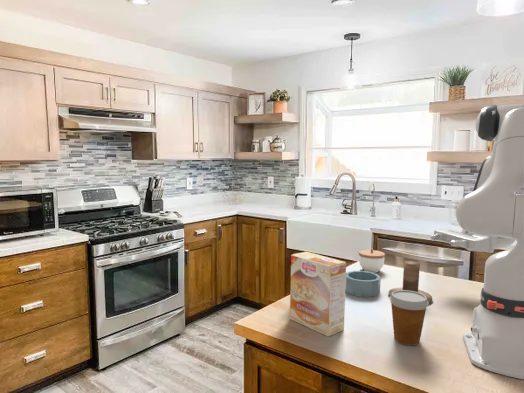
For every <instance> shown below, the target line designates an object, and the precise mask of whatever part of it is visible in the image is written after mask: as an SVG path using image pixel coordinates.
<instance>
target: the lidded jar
mask: <svg viewBox="0 0 524 393" xmlns="http://www.w3.org/2000/svg"><path fill="white" fill-rule="evenodd" d="M385 257H386V253H385V252H383V251H380V250H374V249H373V248H370V249H363V250H359V251H358V262H359V266H360V267H361V268H362V270H363V271H366V272H372V273H375V274H377V273H379V271H380V270H382V269H383V267H384V265H385Z"/></svg>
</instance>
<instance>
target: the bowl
mask: <svg viewBox="0 0 524 393" xmlns="http://www.w3.org/2000/svg"><path fill="white" fill-rule="evenodd" d="M381 278H382V277H381V276H380V275H379V274H377V273H372V272H366V271H364V270H352V271H346V284H345V293H347V294H349V295H351V296H356V297H361V298H364V297H365V298H366V297H367V298H372V297H376V296H379V295H380V294H381V281H382V280H381Z"/></svg>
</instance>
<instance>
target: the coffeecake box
mask: <svg viewBox="0 0 524 393" xmlns="http://www.w3.org/2000/svg"><path fill="white" fill-rule="evenodd" d="M346 273H347V262H346V261H343V260H339V259H337V258H333V257H328V256H324V255H321V254H318V253H313V252H310V251H303V252H302V251H301V252H298V253H293V254H291V255H290V291H289V292H290V295H289V296H290V297H289V298H290V299H289V300H290V301H289V303H290V304H289V305H290V306H289V320H291V321H293V322H296V323H298V324H300V325H302V326H305V327H307V328H309V329H311V330H313V331H315V332H317V333H318V334H322V335H323V336H326V337H331V336H334V335H335V334H337V333H340V332H343V331H344V330H345V313H346V312H345V310H346V308H345V306H346V291H345V284H346Z"/></svg>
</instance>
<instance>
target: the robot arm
mask: <svg viewBox="0 0 524 393" xmlns="http://www.w3.org/2000/svg"><path fill="white" fill-rule="evenodd" d="M475 131H476V133H477V136H478V137H479V139H481V140H482V141H487V142H493V146H492V150H491V151H492V152H491V154H490V155H489V156H487V157H485V158H484V160H483V161H482V163H481V165H480V168H479V171H478V174H477V176H476V180H475V184H474V187H473V190H472V192H470V193H467V194H466V195H465V196H463V197H462V198H461V199H460V200H459V202H458V204H457V207H456V210H455V216H456V217H455V218H456V221H457V223H458V225H459V226H460V228H461V229H462V230H461V231H458V230H454V229H447V228H446V229H435V230H434V231H433V234H432V235H430V240H432V241H435V242H436V241H440V242H443V243H446V244H450V246H451V247H458V248H463V249H465V250H467V251H469V252H479V253H480V252H481V253H486V254H487V253H488V254H492V255H490V256H489V257H488V258H487V259H486V260H485V264H484V277H483V287H482V288H481V292H480V296H479V297H480V303H479V305H478V306H475V307H474V308H473V312H472V313H473V314H472V321H471V322H472V323H471V327H470V331H471V332H465V333H463V335H462V340H463V343H464V347H465V348H466V351H467V354H468V356H469V360H470V362H471V364H473V365H475V366H476V367H479V368H481V369H483V370H487V371H490V372H492V373H496V374H499V375H503V376H506V377H511V378H515V379H520V380H524V194H516V192H517V191H519V190H520V189H523V188H524V104H522V103H520V104H519V103H518V104H517V103H516V104H501V105H497V104H493V105H489V106H484V107H483V108H482V109H481V110H480V112H479V114H478V115H477V118H476V120H475ZM515 242H516V244H515V245H514V246H513V247H512V248H509V249H506V250H503V251H499V252H496V253H494V251H495V250H499V249H504V248H507V247H509V246H511V245H513V244H514V243H515ZM493 253H494V254H493Z"/></svg>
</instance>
